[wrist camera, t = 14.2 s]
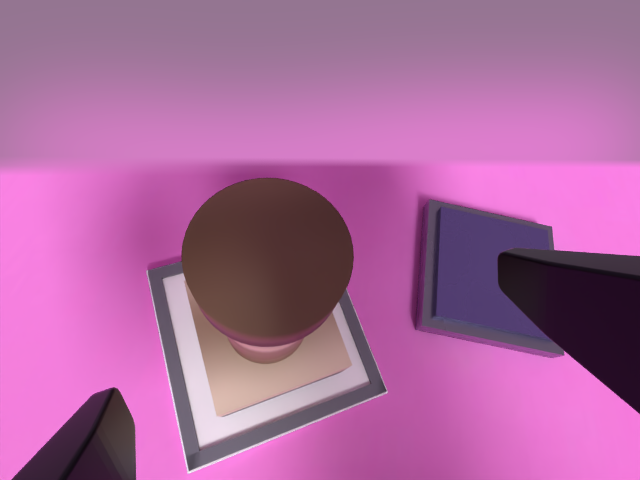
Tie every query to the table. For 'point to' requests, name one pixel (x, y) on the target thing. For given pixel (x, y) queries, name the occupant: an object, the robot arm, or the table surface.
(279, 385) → the stamp
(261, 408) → the marked square
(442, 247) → the ink pad
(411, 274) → the table surface
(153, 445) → the table surface
